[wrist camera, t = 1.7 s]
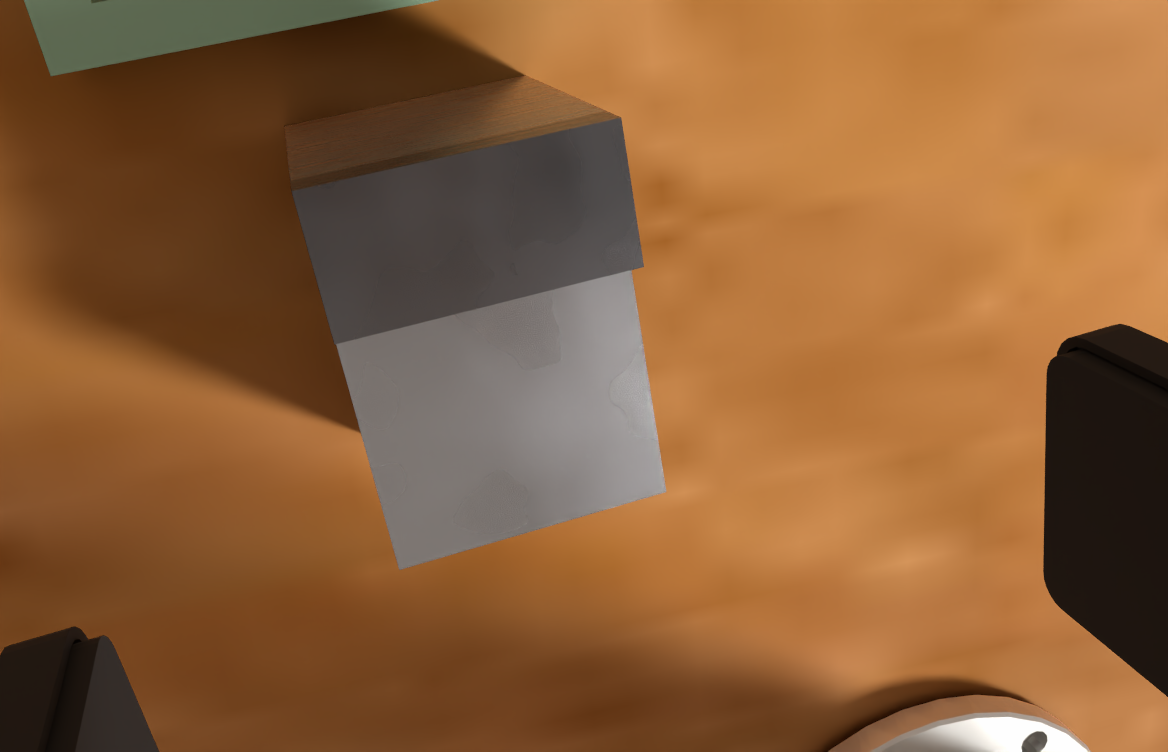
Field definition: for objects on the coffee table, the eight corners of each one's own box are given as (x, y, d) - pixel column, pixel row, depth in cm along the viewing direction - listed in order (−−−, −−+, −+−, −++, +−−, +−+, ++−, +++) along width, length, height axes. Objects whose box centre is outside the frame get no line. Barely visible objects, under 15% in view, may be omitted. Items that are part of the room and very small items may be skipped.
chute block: (580, 378, 25) (681, 512, 19) (369, 435, 24) (404, 594, 18) (524, 74, 23) (620, 117, 16) (284, 126, 22) (291, 191, 16)
